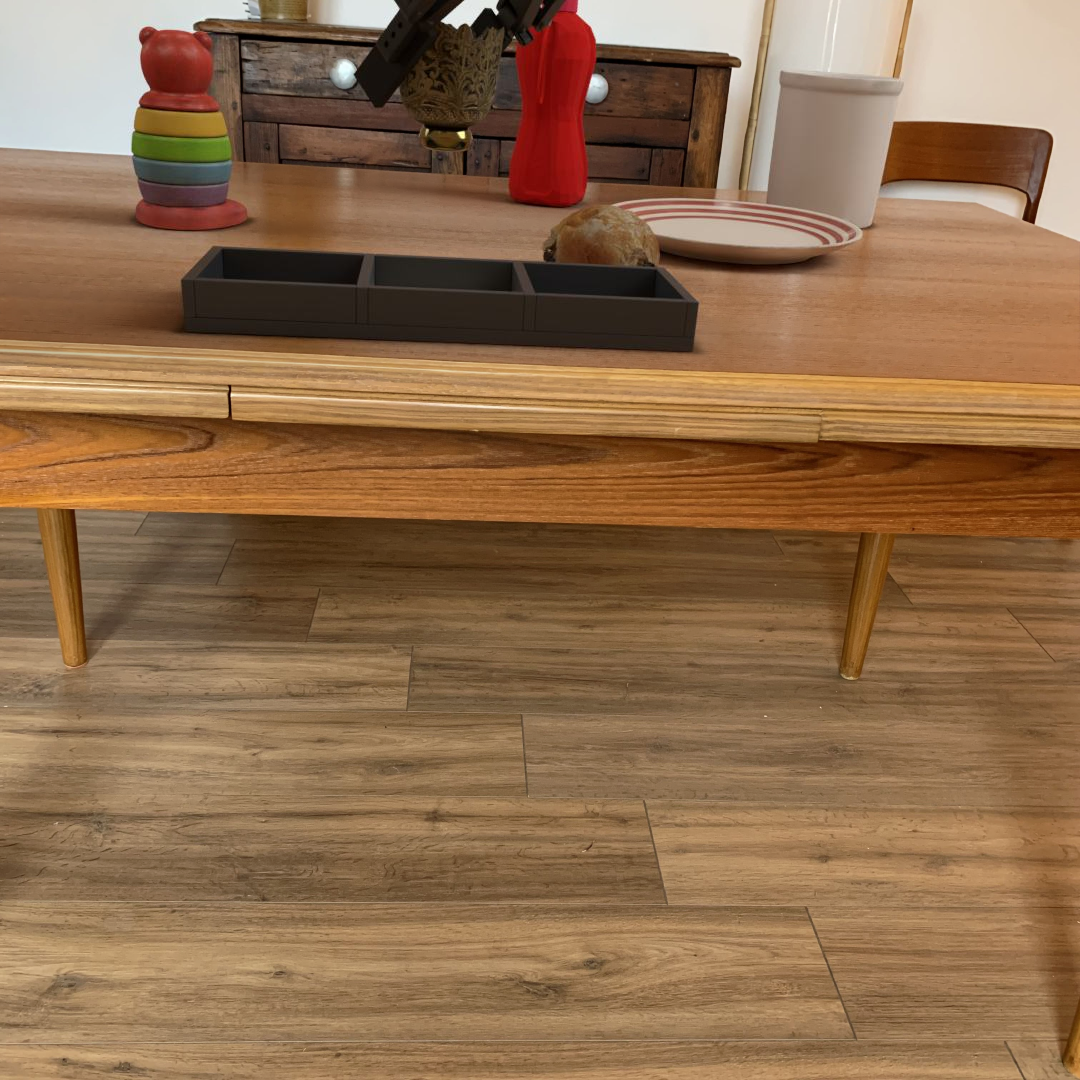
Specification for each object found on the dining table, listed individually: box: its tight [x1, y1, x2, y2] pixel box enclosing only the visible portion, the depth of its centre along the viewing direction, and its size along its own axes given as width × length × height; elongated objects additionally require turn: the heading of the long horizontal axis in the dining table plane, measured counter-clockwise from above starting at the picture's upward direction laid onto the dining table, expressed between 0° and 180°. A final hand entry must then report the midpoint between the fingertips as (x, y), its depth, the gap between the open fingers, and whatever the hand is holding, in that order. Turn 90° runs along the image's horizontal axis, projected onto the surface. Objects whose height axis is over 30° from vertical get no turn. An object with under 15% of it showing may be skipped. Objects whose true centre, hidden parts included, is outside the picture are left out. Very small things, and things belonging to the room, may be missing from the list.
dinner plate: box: [611, 197, 864, 266], centre depth 117 cm, size 28×27×3 cm
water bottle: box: [508, 0, 597, 208], centre depth 134 cm, size 9×11×25 cm
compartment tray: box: [180, 245, 700, 353], centre depth 79 cm, size 35×12×4 cm, turn 95°
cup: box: [398, 21, 505, 153], centre depth 74 cm, size 8×7×8 cm
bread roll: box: [541, 204, 661, 267], centre depth 98 cm, size 10×10×8 cm
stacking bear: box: [130, 26, 248, 231], centre depth 106 cm, size 11×10×18 cm
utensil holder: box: [765, 69, 905, 229], centre depth 138 cm, size 15×15×18 cm
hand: (408, 90), depth 76 cm, fingers closed on cup, 7 cm apart
